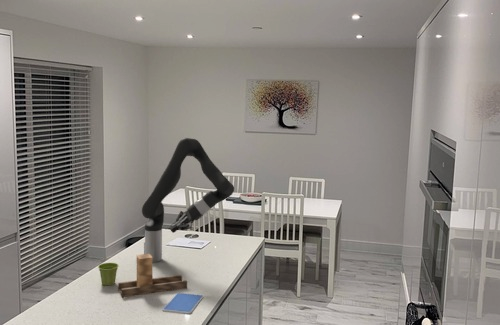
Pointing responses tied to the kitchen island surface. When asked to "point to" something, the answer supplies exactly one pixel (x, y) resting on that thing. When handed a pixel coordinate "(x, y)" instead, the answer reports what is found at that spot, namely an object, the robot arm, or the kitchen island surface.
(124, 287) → the chute
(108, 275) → the plant pot
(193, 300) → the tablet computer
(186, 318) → the kitchen island surface
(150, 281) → the block
